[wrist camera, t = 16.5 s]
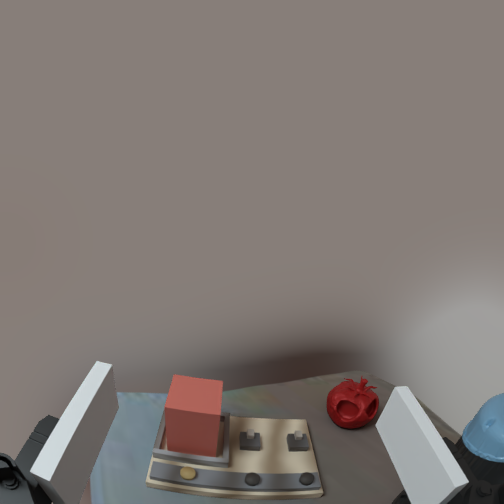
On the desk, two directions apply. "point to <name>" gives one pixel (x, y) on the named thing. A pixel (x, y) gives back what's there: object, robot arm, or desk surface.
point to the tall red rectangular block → (193, 415)
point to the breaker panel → (242, 462)
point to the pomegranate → (352, 404)
